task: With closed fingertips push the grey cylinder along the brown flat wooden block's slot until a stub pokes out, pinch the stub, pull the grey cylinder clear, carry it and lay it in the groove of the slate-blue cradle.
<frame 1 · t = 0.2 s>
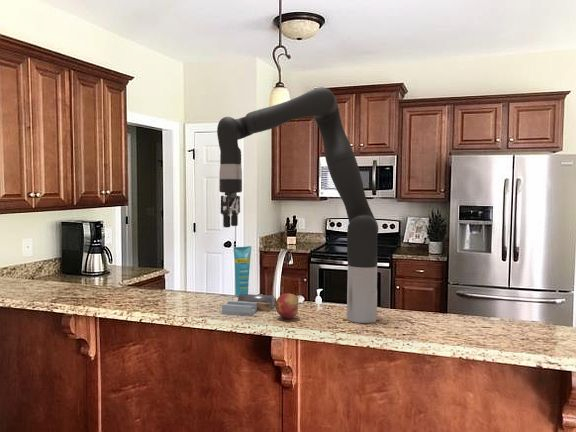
hand: (230, 226, 158), 28 cm above the counter, fingers open, 8 cm apart
tube: (242, 296, 183), on the counter
brown flat wooden block: (256, 307, 164), on the counter
fruit: (287, 319, 149), on the counter
grey cylinder: (256, 301, 164), point 2 cm above the counter
v block: (239, 312, 156), on the counter
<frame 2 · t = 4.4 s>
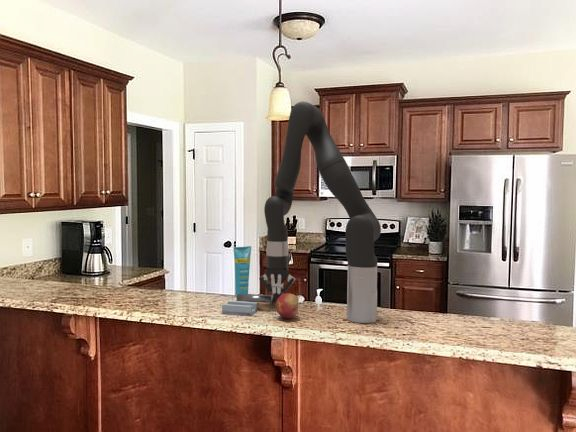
hand: (277, 303, 162), 2 cm above the counter, fingers closed
grey cylinder: (254, 300, 164), point 2 cm above the counter, tilted 6°, touching gripper
everything else where it was.
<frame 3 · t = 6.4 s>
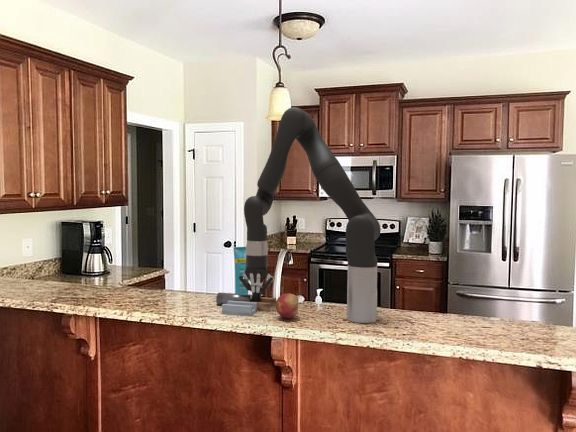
hand: (256, 302, 164), 2 cm above the counter, fingers closed
grey cylinder: (234, 299, 166), point 2 cm above the counter, tilted 6°
everything else where it was.
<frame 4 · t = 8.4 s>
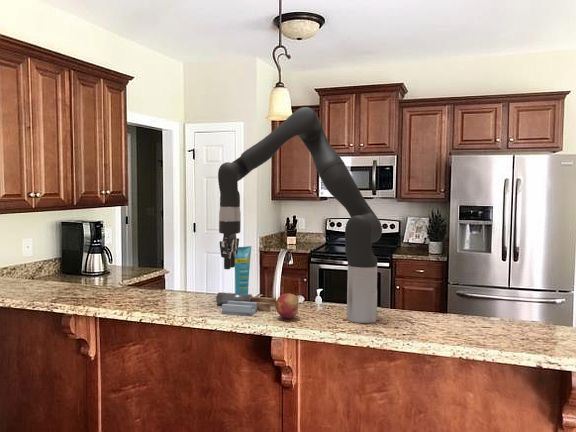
hand: (229, 268, 166), 13 cm above the counter, fingers open, 4 cm apart
nothing on the counter moved.
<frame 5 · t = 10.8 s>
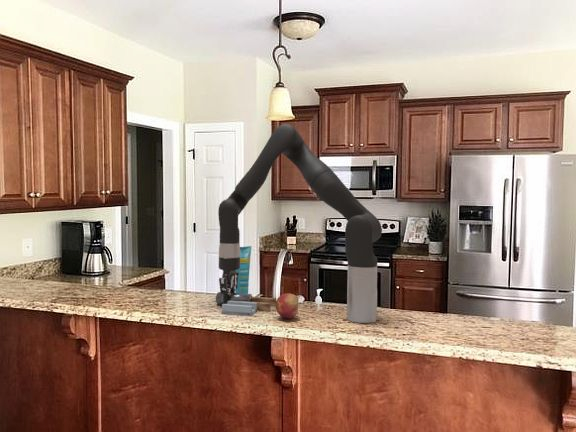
hand: (229, 303, 166), 1 cm above the counter, fingers closed on grey cylinder, 4 cm apart
grey cylinder: (234, 299, 166), point 2 cm above the counter, touching gripper
everything else where it was.
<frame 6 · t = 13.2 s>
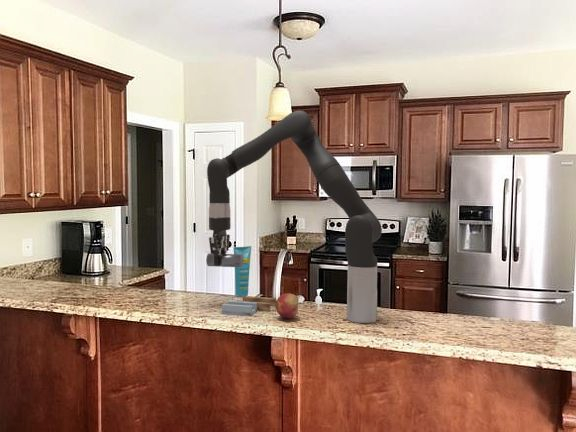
hand: (220, 264, 165), 15 cm above the counter, fingers closed on grey cylinder, 4 cm apart
grey cylinder: (224, 260, 165), point 16 cm above the counter, touching gripper
everything else where it was.
when the fingers open (4 cm above the counter, at t = 15.8 s): grey cylinder drops 1 cm, resting on v block.
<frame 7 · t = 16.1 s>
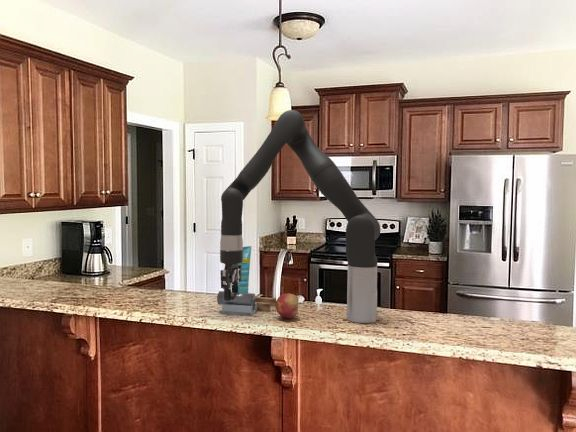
hand: (231, 298, 157), 5 cm above the counter, fingers open, 6 cm apart
grey cylinder: (236, 299, 156), point 4 cm above the counter, touching v block
everything else where it was.
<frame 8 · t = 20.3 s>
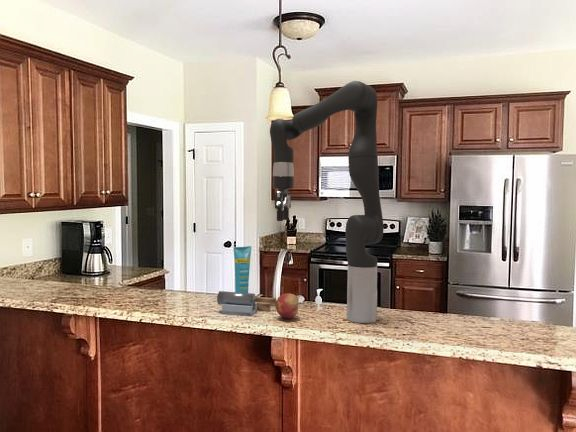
hand: (282, 220, 170), 30 cm above the counter, fingers open, 8 cm apart
nothing on the counter moved.
at the end: grey cylinder inside the target area on the v block (1.1 cm from its centre), point 4.4 cm above the v block's base; grey cylinder touching v block; the gripper is holding nothing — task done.
